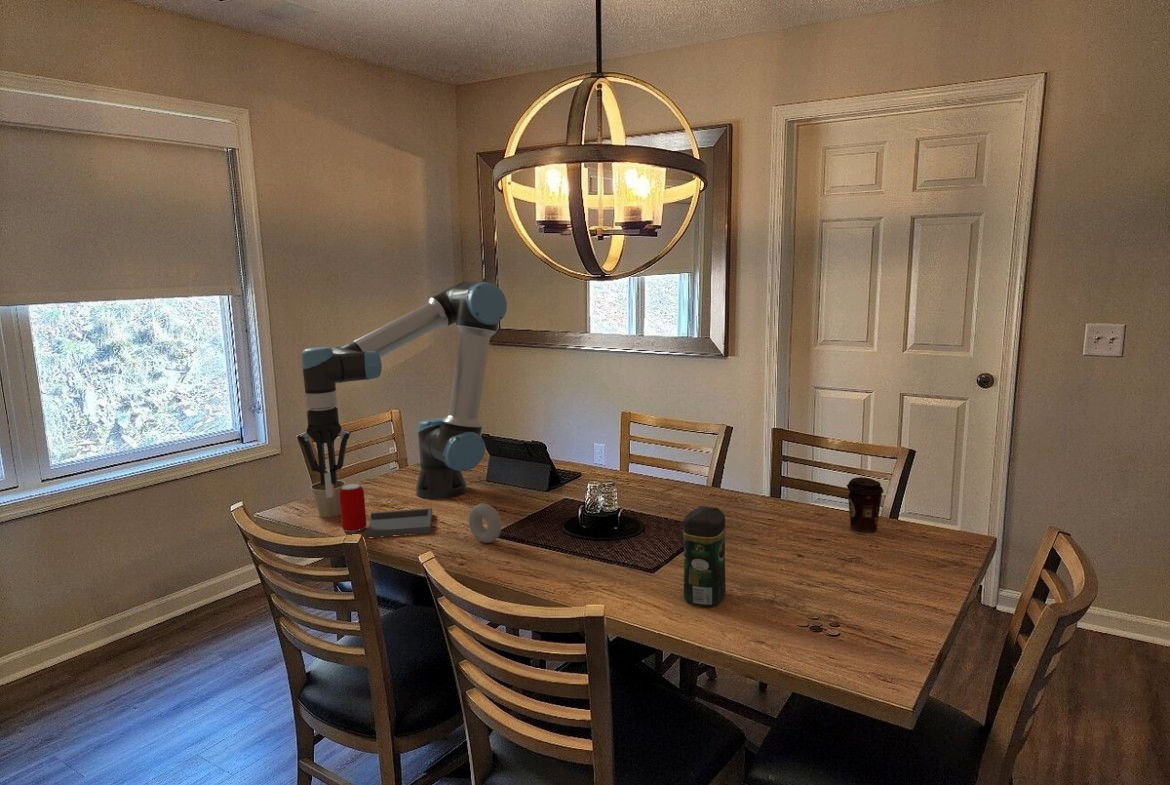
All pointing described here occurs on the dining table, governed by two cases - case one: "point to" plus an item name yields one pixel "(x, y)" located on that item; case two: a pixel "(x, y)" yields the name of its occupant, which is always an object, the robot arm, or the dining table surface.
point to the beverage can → (352, 508)
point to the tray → (399, 522)
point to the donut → (492, 520)
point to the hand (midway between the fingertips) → (330, 495)
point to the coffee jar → (704, 556)
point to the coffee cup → (864, 505)
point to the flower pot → (328, 499)
